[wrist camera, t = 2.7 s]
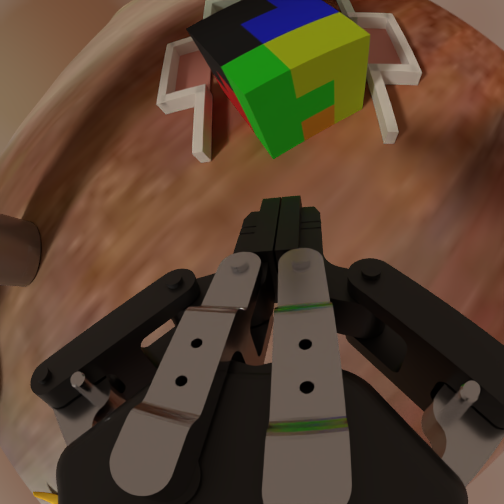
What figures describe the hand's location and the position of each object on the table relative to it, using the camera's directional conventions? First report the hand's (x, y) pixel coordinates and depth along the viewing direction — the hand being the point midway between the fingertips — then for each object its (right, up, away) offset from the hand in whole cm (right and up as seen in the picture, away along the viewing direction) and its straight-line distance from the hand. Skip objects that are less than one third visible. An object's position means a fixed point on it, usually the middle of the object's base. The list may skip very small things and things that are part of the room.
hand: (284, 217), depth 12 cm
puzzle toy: (+2, +14, +14) cm, 20 cm away
